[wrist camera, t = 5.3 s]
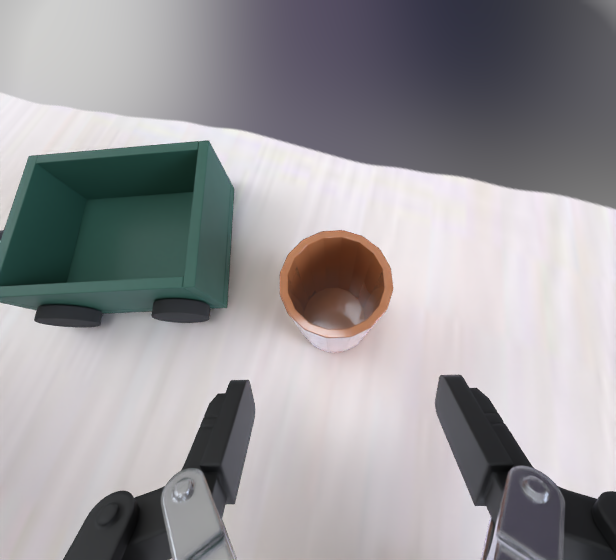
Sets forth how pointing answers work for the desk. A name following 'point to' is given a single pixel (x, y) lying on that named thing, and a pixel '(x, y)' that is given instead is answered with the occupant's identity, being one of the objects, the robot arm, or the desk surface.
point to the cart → (119, 229)
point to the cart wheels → (90, 317)
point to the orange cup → (335, 288)
